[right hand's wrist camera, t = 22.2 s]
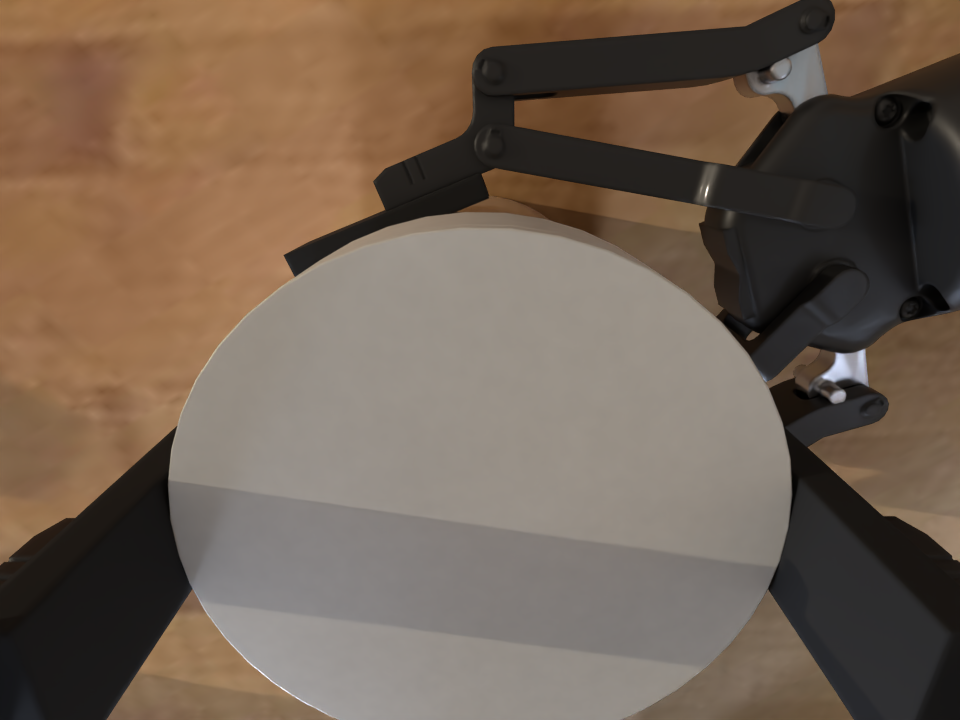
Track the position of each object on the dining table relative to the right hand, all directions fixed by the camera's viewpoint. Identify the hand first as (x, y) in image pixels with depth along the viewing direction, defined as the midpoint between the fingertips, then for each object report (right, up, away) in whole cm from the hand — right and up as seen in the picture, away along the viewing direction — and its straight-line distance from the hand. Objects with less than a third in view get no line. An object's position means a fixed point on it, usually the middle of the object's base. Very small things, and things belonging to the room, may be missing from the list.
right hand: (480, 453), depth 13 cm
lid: (0, -1, -3) cm, 3 cm away
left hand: (-4, +1, +7) cm, 8 cm away
